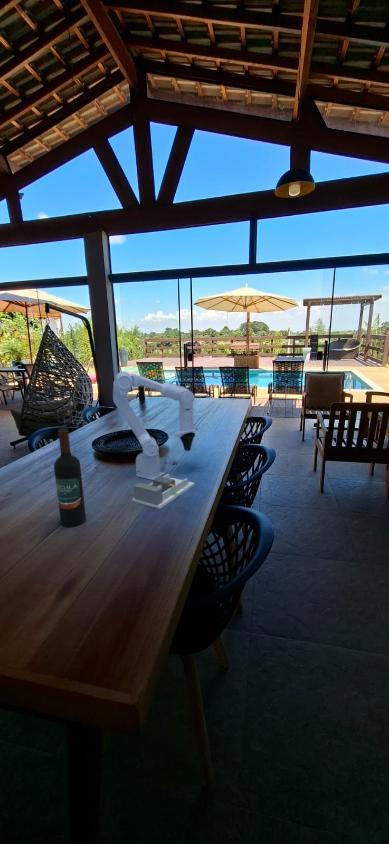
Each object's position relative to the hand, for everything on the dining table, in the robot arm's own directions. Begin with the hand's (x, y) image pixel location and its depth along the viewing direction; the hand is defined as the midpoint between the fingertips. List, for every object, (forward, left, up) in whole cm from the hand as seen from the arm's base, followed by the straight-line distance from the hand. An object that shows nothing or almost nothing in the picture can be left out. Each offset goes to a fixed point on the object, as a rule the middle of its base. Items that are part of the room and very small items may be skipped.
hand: (187, 450), depth 152 cm
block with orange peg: (+5, -24, -8) cm, 26 cm away
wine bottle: (-9, -53, -10) cm, 55 cm away
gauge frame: (+4, -22, -9) cm, 24 cm away
